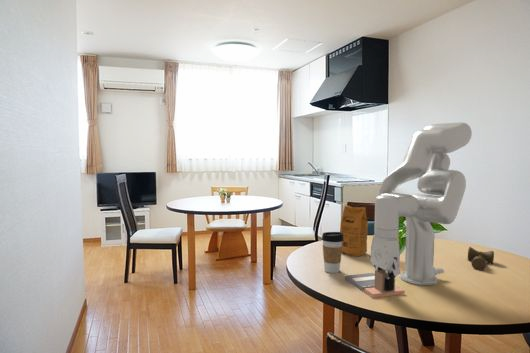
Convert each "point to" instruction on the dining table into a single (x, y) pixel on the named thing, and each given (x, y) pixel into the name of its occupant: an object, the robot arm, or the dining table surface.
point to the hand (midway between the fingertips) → (384, 287)
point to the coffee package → (354, 231)
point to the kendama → (480, 258)
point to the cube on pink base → (382, 286)
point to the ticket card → (362, 280)
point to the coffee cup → (332, 251)
